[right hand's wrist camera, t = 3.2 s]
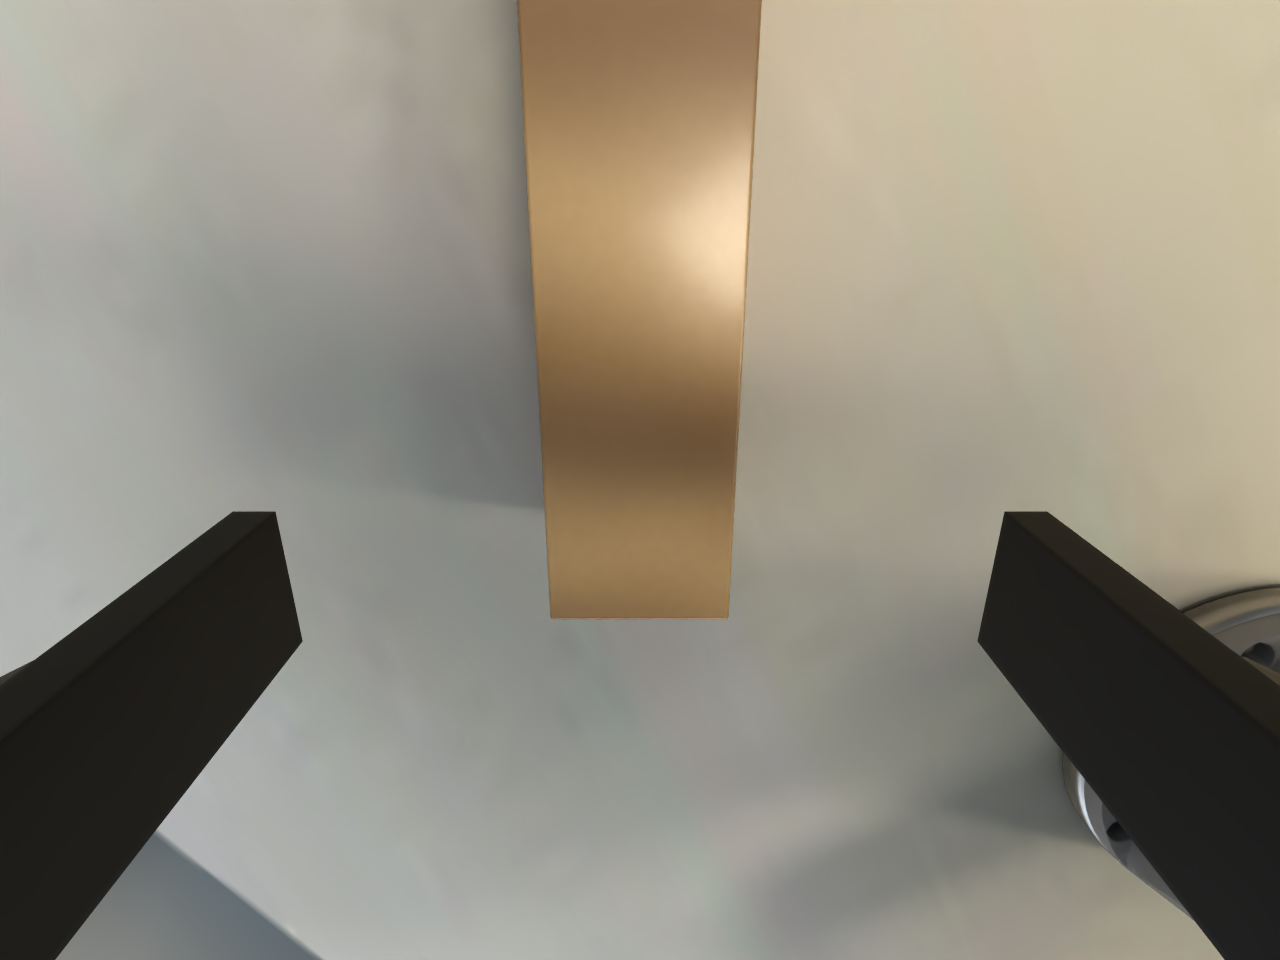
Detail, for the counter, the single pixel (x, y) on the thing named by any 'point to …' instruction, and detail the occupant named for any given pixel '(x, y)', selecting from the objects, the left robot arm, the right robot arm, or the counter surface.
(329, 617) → the counter surface
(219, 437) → the counter surface
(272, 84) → the counter surface
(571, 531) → the post
